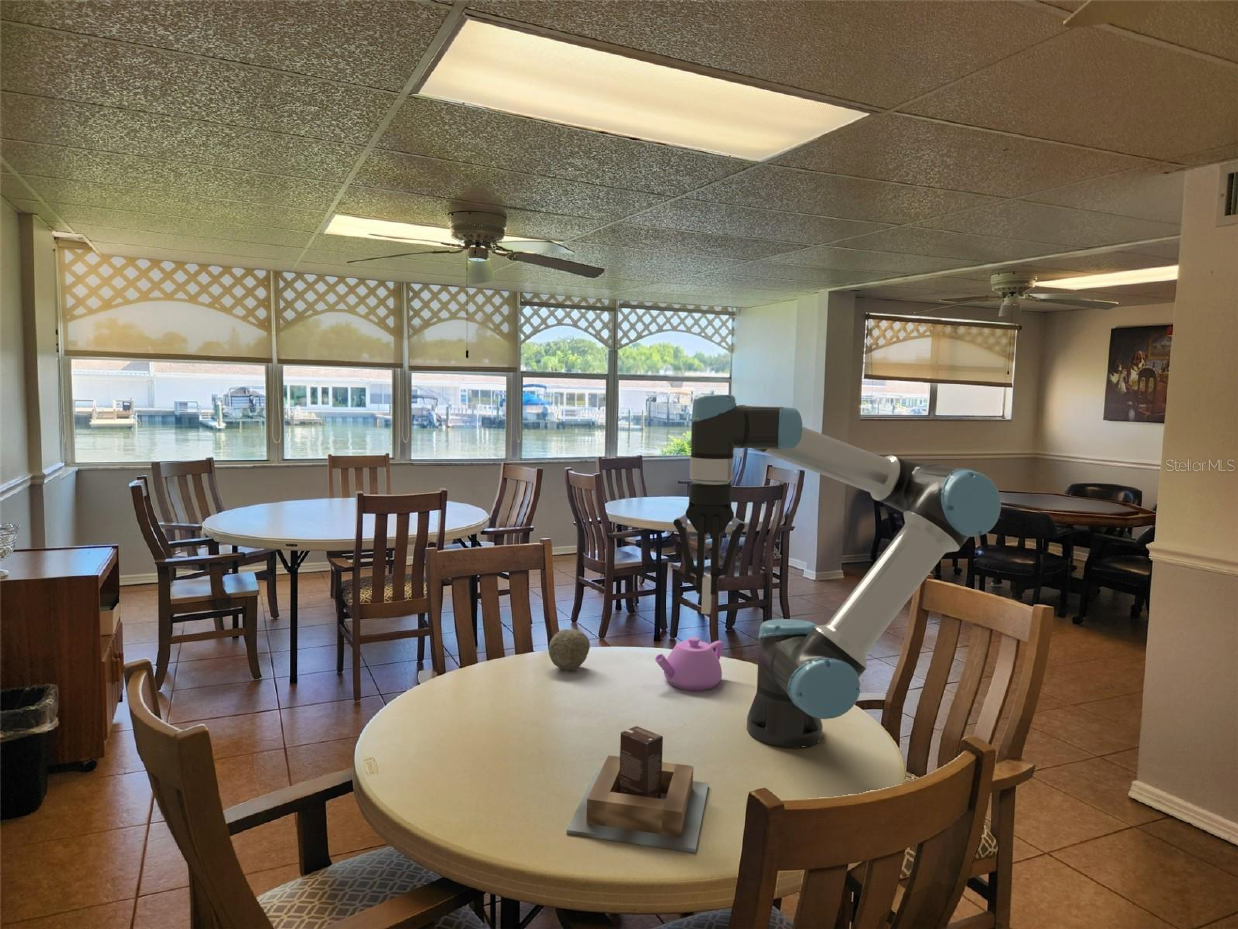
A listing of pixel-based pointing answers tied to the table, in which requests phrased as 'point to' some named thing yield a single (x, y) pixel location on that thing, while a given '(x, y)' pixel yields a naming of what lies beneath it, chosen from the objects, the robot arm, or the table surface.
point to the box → (640, 763)
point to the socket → (643, 809)
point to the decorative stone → (569, 649)
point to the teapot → (693, 664)
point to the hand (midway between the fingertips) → (706, 611)
